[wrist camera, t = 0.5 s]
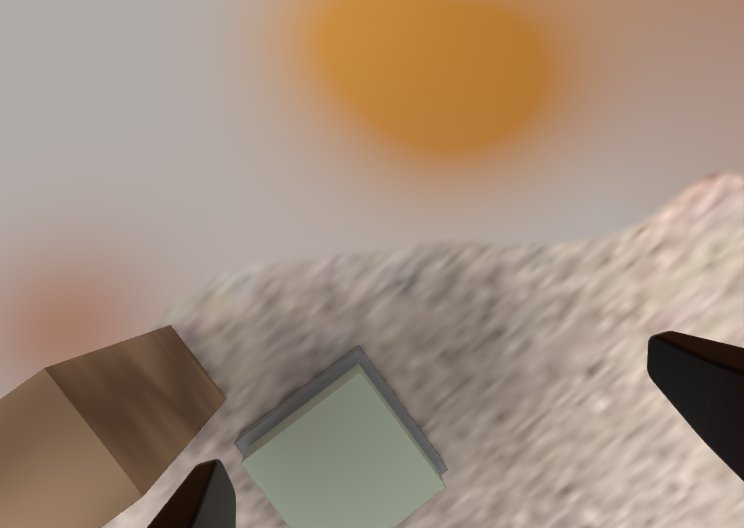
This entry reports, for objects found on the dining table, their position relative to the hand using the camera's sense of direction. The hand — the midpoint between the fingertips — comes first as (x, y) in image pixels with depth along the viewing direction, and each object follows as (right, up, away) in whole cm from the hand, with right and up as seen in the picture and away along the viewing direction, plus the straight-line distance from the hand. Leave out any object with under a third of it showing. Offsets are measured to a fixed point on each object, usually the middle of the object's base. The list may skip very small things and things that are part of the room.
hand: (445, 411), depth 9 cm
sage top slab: (-3, -7, +14) cm, 16 cm away
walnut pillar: (-13, -4, +14) cm, 20 cm away
